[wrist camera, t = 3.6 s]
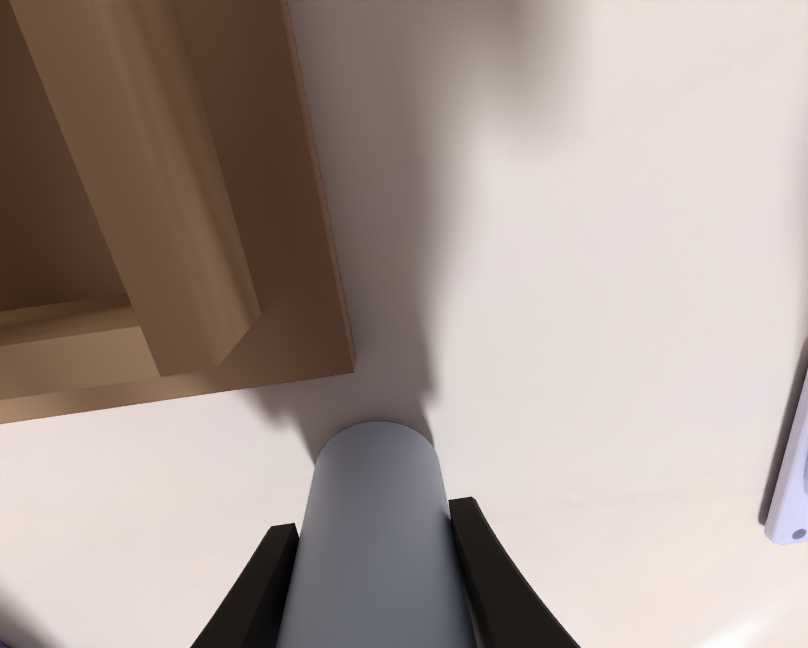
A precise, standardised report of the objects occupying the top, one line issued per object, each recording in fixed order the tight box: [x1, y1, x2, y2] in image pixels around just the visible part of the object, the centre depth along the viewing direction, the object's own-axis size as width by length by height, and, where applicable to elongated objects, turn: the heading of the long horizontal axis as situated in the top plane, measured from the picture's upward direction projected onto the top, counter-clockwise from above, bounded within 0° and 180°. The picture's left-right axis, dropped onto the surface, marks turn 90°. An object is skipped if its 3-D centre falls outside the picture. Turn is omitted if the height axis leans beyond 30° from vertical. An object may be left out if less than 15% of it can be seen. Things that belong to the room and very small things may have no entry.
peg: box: [276, 421, 478, 648], centre depth 9 cm, size 4×4×8 cm
